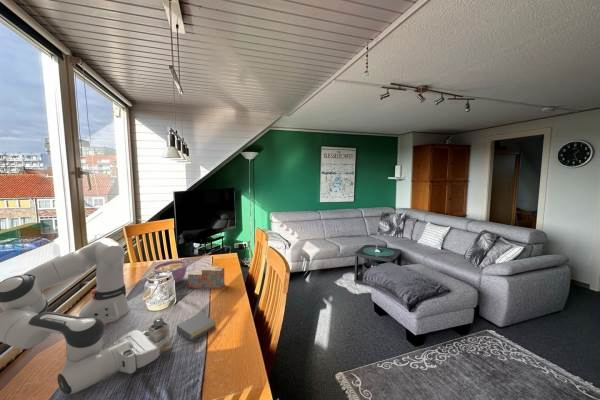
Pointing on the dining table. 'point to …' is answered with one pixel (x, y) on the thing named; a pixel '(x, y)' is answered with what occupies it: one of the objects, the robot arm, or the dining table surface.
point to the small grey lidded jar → (160, 336)
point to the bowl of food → (172, 269)
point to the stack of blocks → (207, 278)
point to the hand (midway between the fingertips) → (160, 335)
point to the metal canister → (158, 323)
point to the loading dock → (195, 326)
